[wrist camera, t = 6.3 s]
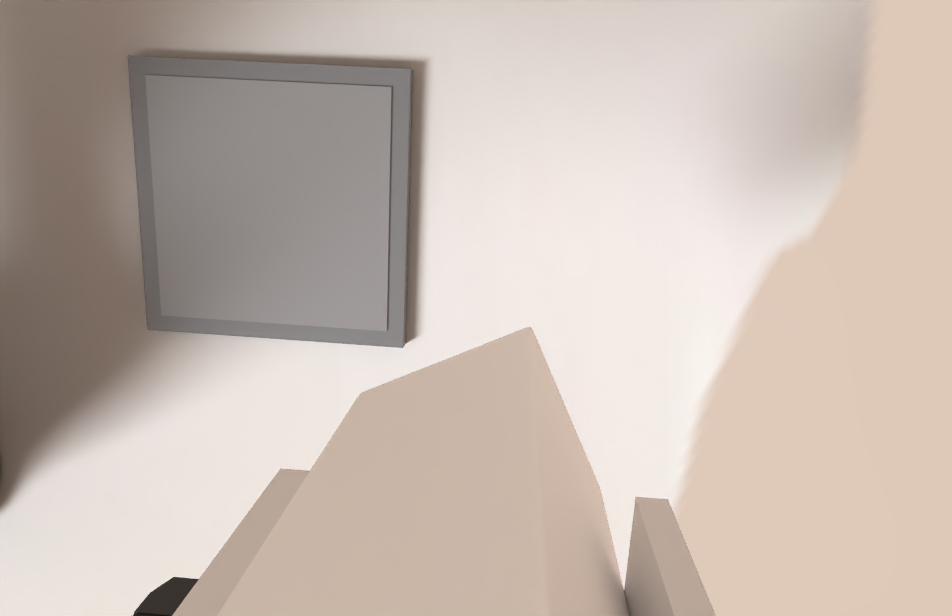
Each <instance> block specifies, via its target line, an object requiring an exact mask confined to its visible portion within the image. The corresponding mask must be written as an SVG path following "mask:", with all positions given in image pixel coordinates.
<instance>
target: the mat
mask: <svg viewBox="0 0 952 616" xmlns="http://www.w3.org/2000/svg"><path fill="white" fill-rule="evenodd" d="M128 66H129V80H130V94H131V107H132V121H133V135H134V149H135V163H136V176H137V190H138V204H139V218H140V231H141V245H142V259H143V273H144V287H145V300H146V314H147V328H148V330H161V331H175V332H189V333H203V334H217V335H231V336H245V337H259V338H273V339H287V340H301V341H315V342H329V343H343V344H357V345H371V346H385V347H399V348H403V347H404V345H405V340H406V302H407V264H408V226H409V189H410V151H411V113H412V75H413V70H411V69H405V68H384V67H362V66H341V65H320V64H298V63H277V62H255V61H234V60H213V59H191V58H170V57H148V56H128Z"/></svg>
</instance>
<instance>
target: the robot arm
mask: <svg viewBox="0 0 952 616" xmlns="http://www.w3.org/2000/svg"><path fill="white" fill-rule="evenodd" d="M309 472H310V471H303V470H291V469H280V470H279V472H278V473H277V474H276V476H275V477H274V478H273V480H272V481H271V482H270V484H269V485H268V486H267V488H266V489H265V491H264V492H263V493H262V495H261V496H260V497H259V499H258V500H257V501H256V503H255V504H254V505H253V507H252V508H251V509H250V511H249V512H248V514H247V515H246V516H245V518H244V519H243V520H242V522H241V523H240V524H239V526H238V527H237V528H236V530H235V531H234V532H233V534H232V535H231V537H230V538H229V539H228V541H227V542H226V543H225V545H224V546H223V547H222V549H221V550H220V551H219V553H218V554H217V555H216V557H215V558H214V560H213V561H212V562H211V564H210V565H209V566H208V568H207V569H206V570H205V572H204V573H203V574H202V576H201V577H200V578H199V579H190V578H179V577H173V578H172V579H170V580H169V581H167V582H166V583H164V584H163V585H161V586H160V587H158V588H157V589H155V590H154V591H152V592H151V593H150V594H149V595H148V596H147V597H146V598H145V600H144V601H143V602H142V603H141V604H140V606H139V607H138V608H137V609H136V611H135V612H134V615H133V616H217V614H218V613H219V611H220V610H221V608H222V607H223V605H224V604H225V602H226V600H227V599H228V597H229V596H230V594H231V593H232V591H233V590H234V588H235V587H236V585H237V583H238V582H239V580H240V579H241V577H242V576H243V574H244V573H245V571H246V569H247V568H248V566H249V565H250V563H251V562H252V560H253V559H254V557H255V556H256V554H257V552H258V551H259V549H260V548H261V546H262V545H263V543H264V542H265V540H266V538H267V537H268V535H269V534H270V532H271V531H272V529H273V528H274V526H275V525H276V523H277V521H278V520H279V518H280V517H281V515H282V514H283V512H284V511H285V509H286V507H287V506H288V504H289V503H290V501H291V500H292V498H293V497H294V495H295V494H296V492H297V490H298V489H299V487H300V486H301V484H302V483H303V481H304V480H305V478H306V476H307V475H308V473H309ZM624 594H625V598H626V602H627V607H628V611H629V615H630V616H716V615H715V613H714V610H713V608H712V605H711V603H710V601H709V598H708V596H707V594H706V591H705V589H704V586H703V584H702V581H701V579H700V576H699V574H698V571H697V569H696V567H695V564H694V562H693V559H692V557H691V555H690V552H689V550H688V547H687V545H686V542H685V540H684V538H683V535H682V533H681V530H680V528H679V525H678V523H677V521H676V518H675V516H674V513H673V511H672V508H671V506H670V504H669V501H668V499H656V498H643V497H636V499H635V508H634V516H633V524H632V532H631V540H630V548H629V557H628V565H627V573H626V581H625V589H624Z"/></svg>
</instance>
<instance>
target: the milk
mask: <svg viewBox="0 0 952 616" xmlns="http://www.w3.org/2000/svg"><path fill="white" fill-rule="evenodd" d="M217 616H630V615H629V611H628V607H627V602H626V598H625V594H624V589H623V585H622V581H621V576H620V572H619V568H618V563H617V559H616V555H615V550H614V546H613V542H612V537H611V533H610V529H609V524H608V520H607V516H606V511H605V507H604V503H603V498H602V494H601V490H600V487H599V484H598V482H597V480H596V477H595V475H594V473H593V470H592V468H591V466H590V463H589V461H588V459H587V456H586V454H585V452H584V449H583V447H582V444H581V442H580V440H579V437H578V435H577V433H576V430H575V428H574V426H573V423H572V421H571V419H570V416H569V414H568V412H567V409H566V407H565V405H564V402H563V400H562V398H561V395H560V393H559V390H558V388H557V386H556V383H555V381H554V379H553V376H552V374H551V372H550V369H549V367H548V365H547V362H546V360H545V358H544V355H543V353H542V351H541V348H540V346H539V343H538V341H537V339H536V336H535V334H534V332H533V330H532V328H531V327H527V328H524V329H522V330H519V331H517V332H514V333H512V334H509V335H507V336H504V337H502V338H499V339H497V340H494V341H492V342H489V343H486V344H484V345H481V346H479V347H476V348H474V349H471V350H469V351H466V352H464V353H461V354H459V355H456V356H454V357H451V358H448V359H446V360H443V361H441V362H438V363H436V364H433V365H431V366H428V367H426V368H423V369H421V370H418V371H416V372H413V373H410V374H408V375H405V376H403V377H400V378H398V379H395V380H393V381H390V382H388V383H385V384H383V385H380V386H378V387H375V388H372V389H370V390H367V391H365V392H362V393H361V394H360V395H359V396H358V397H357V399H356V400H355V402H354V403H353V405H352V407H351V408H350V410H349V411H348V413H347V414H346V416H345V417H344V419H343V421H342V422H341V424H340V425H339V427H338V428H337V430H336V431H335V433H334V434H333V436H332V438H331V439H330V441H329V442H328V444H327V445H326V447H325V448H324V450H323V452H322V453H321V455H320V456H319V458H318V459H317V461H316V462H315V464H314V465H313V467H312V469H311V470H310V472H309V473H308V475H307V476H306V478H305V480H304V481H303V483H302V484H301V486H300V487H299V489H298V490H297V492H296V494H295V495H294V497H293V498H292V500H291V501H290V503H289V504H288V506H287V507H286V509H285V511H284V512H283V514H282V515H281V517H280V518H279V520H278V521H277V523H276V525H275V526H274V528H273V529H272V531H271V532H270V534H269V535H268V537H267V538H266V540H265V542H264V543H263V545H262V546H261V548H260V549H259V551H258V552H257V554H256V556H255V557H254V559H253V560H252V562H251V563H250V565H249V566H248V568H247V569H246V571H245V573H244V574H243V576H242V577H241V579H240V580H239V582H238V583H237V585H236V587H235V588H234V590H233V591H232V593H231V594H230V596H229V597H228V599H227V600H226V602H225V604H224V605H223V607H222V608H221V610H220V611H219V613H218V614H217Z"/></svg>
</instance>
